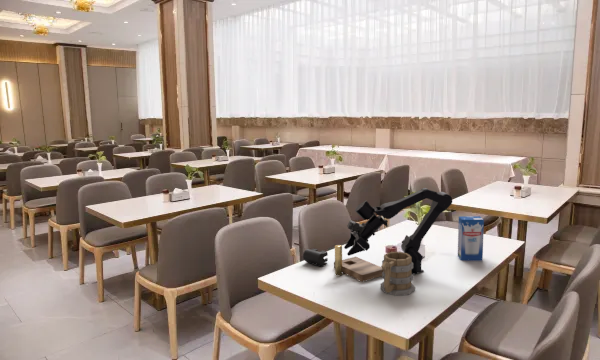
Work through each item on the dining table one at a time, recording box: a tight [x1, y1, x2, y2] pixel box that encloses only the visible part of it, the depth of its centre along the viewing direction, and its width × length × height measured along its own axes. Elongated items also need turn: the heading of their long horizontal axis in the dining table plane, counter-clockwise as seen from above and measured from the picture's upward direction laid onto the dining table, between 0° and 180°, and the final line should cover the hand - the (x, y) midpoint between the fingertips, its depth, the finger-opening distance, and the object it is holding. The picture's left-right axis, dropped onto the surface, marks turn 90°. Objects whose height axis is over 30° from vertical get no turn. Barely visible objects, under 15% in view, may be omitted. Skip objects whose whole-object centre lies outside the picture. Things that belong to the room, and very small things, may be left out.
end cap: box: [302, 248, 329, 267], centre depth 205 cm, size 10×7×7 cm
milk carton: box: [457, 215, 485, 262], centre depth 205 cm, size 10×6×20 cm, turn 84°
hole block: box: [333, 256, 384, 283], centre depth 193 cm, size 20×13×3 cm, turn 32°
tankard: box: [380, 251, 416, 296], centre depth 170 cm, size 20×13×15 cm, turn 141°
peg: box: [334, 244, 343, 276], centre depth 190 cm, size 3×3×13 cm
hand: (346, 251), depth 190 cm, fingers open, 9 cm apart
